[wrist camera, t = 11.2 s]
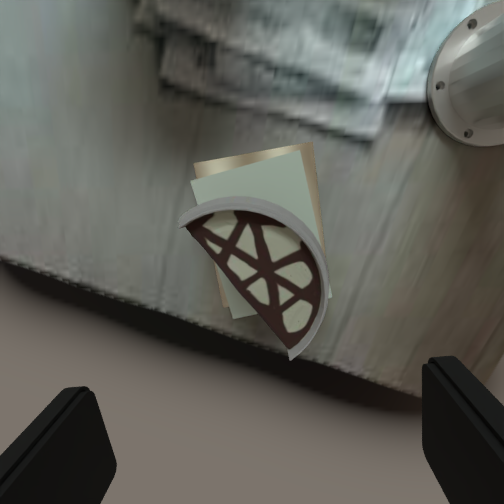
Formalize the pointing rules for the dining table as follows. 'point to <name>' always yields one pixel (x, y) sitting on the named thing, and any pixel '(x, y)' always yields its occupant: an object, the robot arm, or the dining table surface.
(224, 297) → the lower slab
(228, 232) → the food container
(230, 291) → the upper slab
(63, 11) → the dining table surface
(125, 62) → the dining table surface
